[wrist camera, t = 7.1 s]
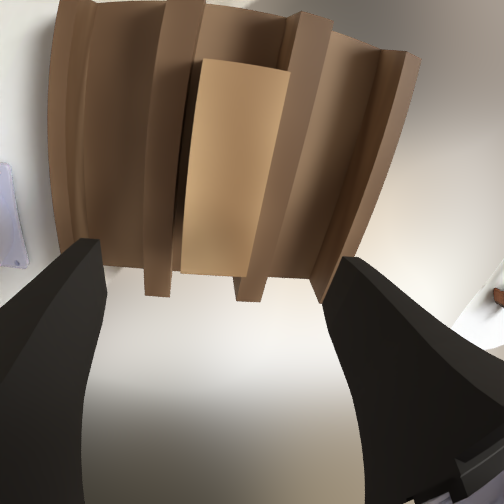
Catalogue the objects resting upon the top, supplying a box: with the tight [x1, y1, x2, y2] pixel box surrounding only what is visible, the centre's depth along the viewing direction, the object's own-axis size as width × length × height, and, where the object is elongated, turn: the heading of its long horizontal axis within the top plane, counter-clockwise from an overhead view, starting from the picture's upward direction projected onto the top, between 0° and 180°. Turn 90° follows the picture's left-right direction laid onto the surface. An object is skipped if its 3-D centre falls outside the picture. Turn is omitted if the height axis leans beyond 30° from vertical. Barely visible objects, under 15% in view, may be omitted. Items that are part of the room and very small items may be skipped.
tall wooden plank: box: [181, 58, 291, 277], centre depth 13 cm, size 3×9×5 cm, turn 170°
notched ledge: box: [47, 0, 422, 304], centre depth 15 cm, size 17×16×3 cm
